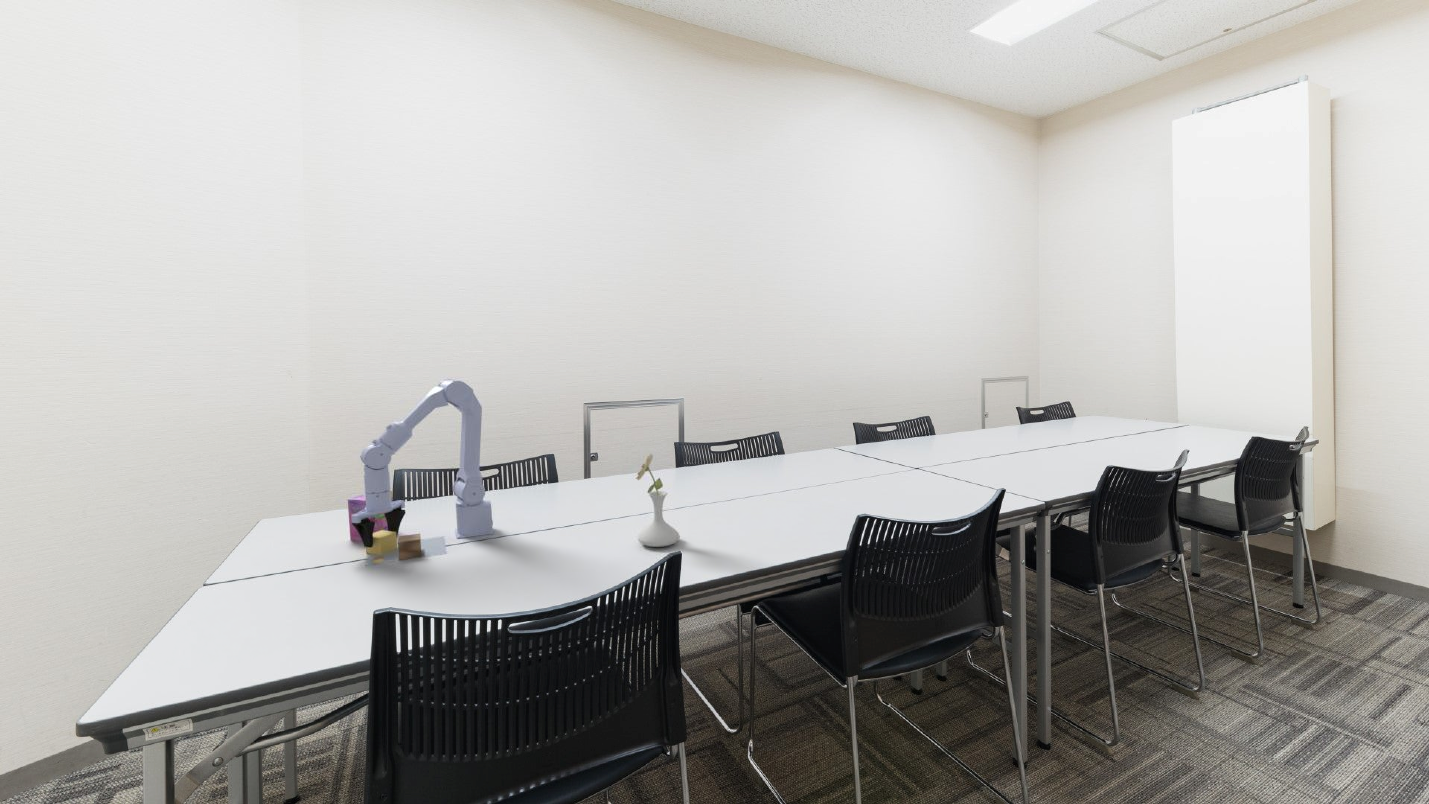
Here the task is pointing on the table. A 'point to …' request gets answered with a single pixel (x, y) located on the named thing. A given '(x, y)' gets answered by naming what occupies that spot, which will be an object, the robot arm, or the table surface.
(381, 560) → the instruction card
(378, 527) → the box
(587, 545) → the table surface
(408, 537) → the walnut block
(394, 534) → the mustard block
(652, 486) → the flower in vase
